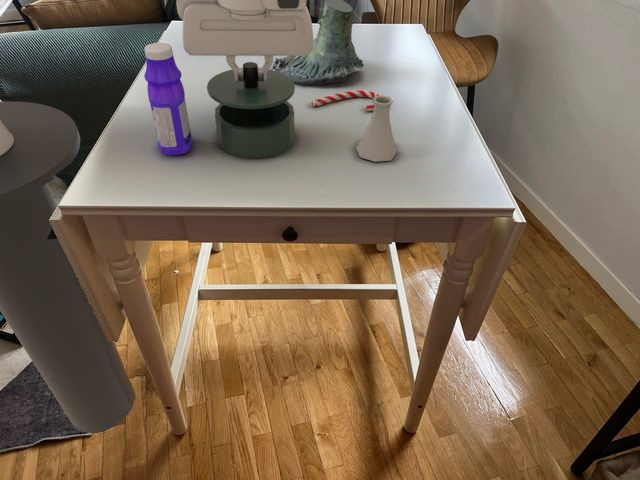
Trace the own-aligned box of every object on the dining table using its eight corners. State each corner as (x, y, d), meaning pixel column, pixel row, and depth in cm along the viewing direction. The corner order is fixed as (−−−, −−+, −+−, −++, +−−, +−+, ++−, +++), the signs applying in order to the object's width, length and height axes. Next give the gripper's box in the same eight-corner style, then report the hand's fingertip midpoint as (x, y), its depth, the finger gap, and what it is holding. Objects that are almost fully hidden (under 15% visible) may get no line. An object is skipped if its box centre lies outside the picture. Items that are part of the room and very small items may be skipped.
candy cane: (308, 93, 99) (377, 87, 103) (308, 99, 100) (376, 93, 103) (317, 111, 94) (390, 104, 97) (317, 117, 95) (389, 110, 98)
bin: (217, 160, 82) (213, 131, 79) (219, 121, 92) (216, 94, 89) (296, 157, 84) (297, 129, 80) (290, 119, 94) (290, 92, 90)
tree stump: (289, 51, 120) (308, -26, 108) (362, 83, 119) (390, 10, 107) (258, 76, 106) (276, -8, 94) (341, 113, 105) (370, 32, 93)
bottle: (160, 137, 87) (140, 38, 76) (193, 135, 88) (177, 37, 76) (158, 159, 82) (135, 57, 70) (192, 157, 83) (176, 55, 71)
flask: (354, 160, 84) (359, 107, 77) (357, 139, 89) (362, 87, 82) (396, 165, 83) (404, 111, 77) (396, 143, 89) (405, 91, 82)
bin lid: (205, 113, 76) (202, 84, 73) (209, 74, 86) (206, 47, 83) (298, 112, 78) (298, 84, 74) (291, 73, 88) (291, 47, 85)
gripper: (171, -5, 68) (185, 89, 77) (317, -3, 70) (313, 87, 80) (176, -18, 72) (188, 72, 82) (312, -16, 75) (309, 71, 84)
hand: (251, 80), depth 81 cm, fingers closed on bin lid, 2 cm apart
